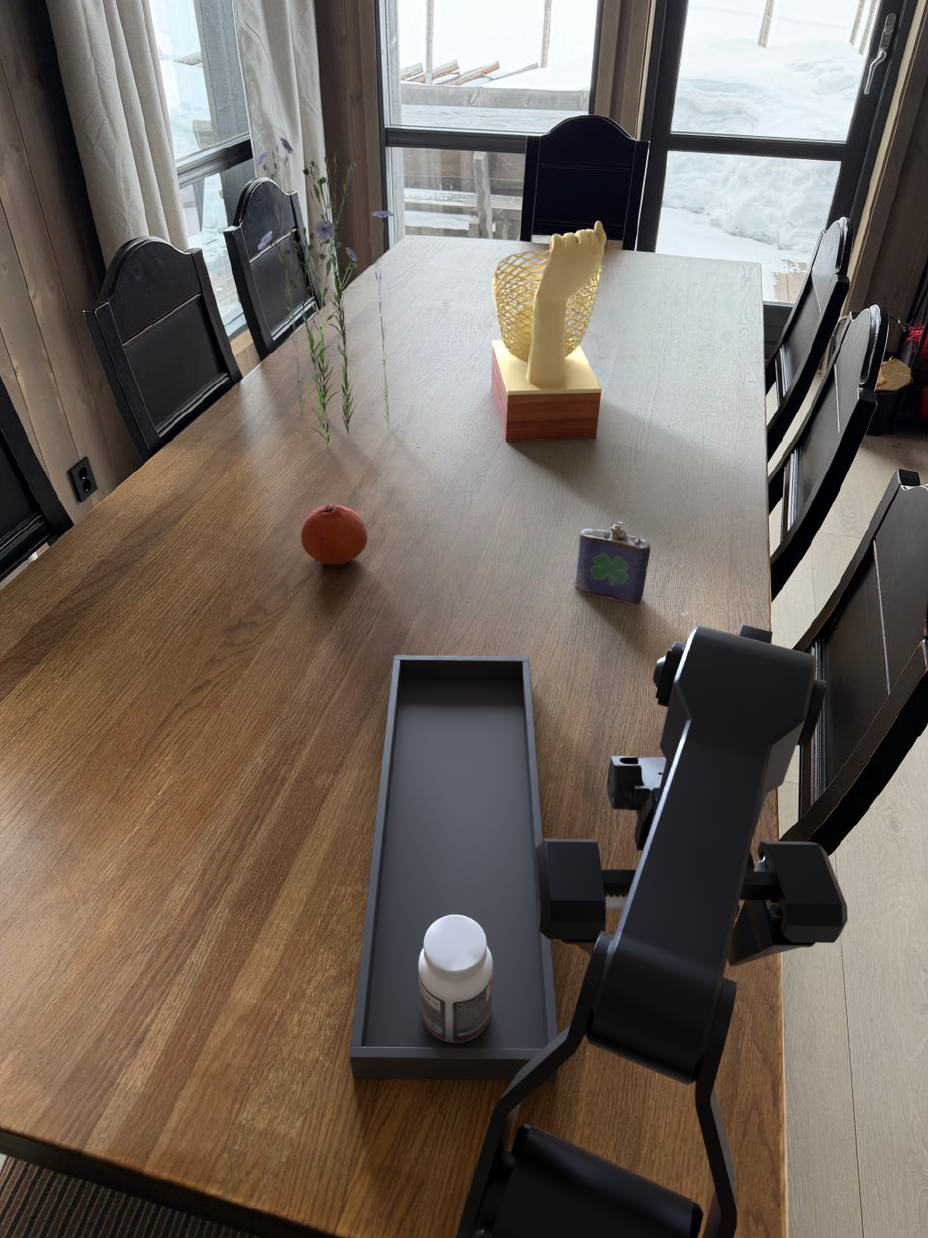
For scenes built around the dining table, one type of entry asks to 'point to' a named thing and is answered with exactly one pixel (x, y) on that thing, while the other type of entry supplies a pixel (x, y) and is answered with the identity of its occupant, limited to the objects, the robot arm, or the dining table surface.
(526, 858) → the black tray
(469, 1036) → the pill bottle
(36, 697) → the dining table surface
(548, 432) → the raised fist statue
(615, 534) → the flask
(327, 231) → the wildflower
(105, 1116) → the dining table surface
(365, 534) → the fruit
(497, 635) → the dining table surface
